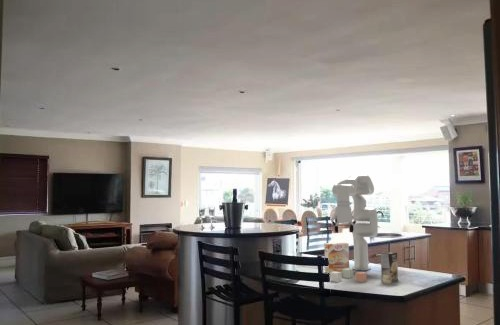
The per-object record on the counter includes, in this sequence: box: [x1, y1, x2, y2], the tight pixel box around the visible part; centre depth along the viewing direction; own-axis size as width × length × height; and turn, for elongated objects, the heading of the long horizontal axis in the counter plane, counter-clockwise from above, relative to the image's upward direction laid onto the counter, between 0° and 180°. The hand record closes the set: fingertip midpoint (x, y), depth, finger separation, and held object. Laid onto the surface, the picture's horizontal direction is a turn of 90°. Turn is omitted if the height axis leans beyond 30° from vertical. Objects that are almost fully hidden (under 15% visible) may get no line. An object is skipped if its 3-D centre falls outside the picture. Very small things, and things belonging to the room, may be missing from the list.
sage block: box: [341, 267, 354, 279], centre depth 268 cm, size 5×5×5 cm
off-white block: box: [329, 271, 343, 283], centre depth 257 cm, size 5×5×5 cm
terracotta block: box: [354, 271, 368, 283], centre depth 254 cm, size 5×5×5 cm
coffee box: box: [380, 251, 399, 282], centre depth 257 cm, size 9×6×16 cm
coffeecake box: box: [323, 242, 350, 274], centre depth 284 cm, size 15×7×20 cm, turn 101°
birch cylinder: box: [381, 274, 393, 285], centre depth 247 cm, size 5×5×5 cm
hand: (344, 232), depth 259 cm, fingers open, 9 cm apart
